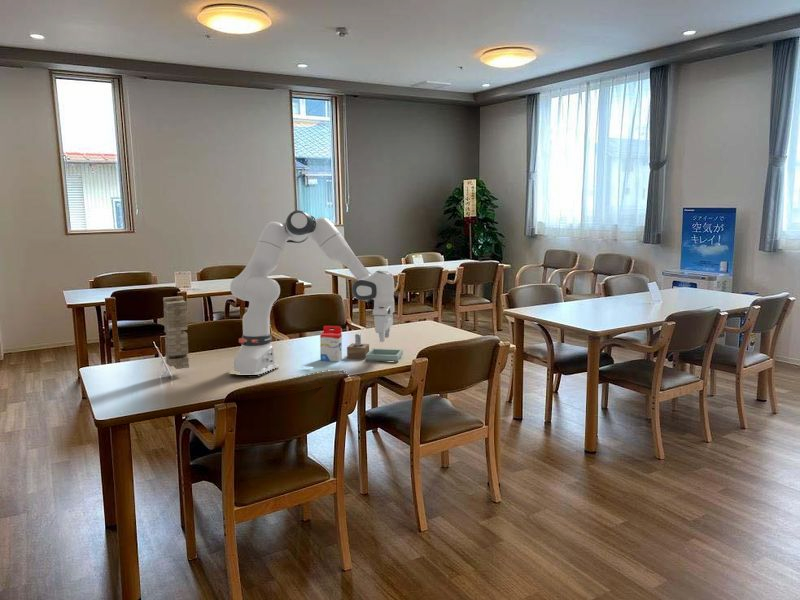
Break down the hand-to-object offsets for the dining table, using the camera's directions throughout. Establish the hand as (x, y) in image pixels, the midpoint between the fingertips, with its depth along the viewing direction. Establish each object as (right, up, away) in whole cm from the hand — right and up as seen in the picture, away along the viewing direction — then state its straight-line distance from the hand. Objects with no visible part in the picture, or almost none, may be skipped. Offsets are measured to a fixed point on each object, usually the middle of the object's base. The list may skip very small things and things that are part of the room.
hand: (384, 339), depth 264 cm
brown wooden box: (-12, -8, +6) cm, 15 cm away
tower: (-86, -11, -12) cm, 87 cm away
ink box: (-23, -9, 0) cm, 25 cm away
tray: (0, -9, +1) cm, 9 cm away
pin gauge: (-12, -8, +6) cm, 15 cm away
